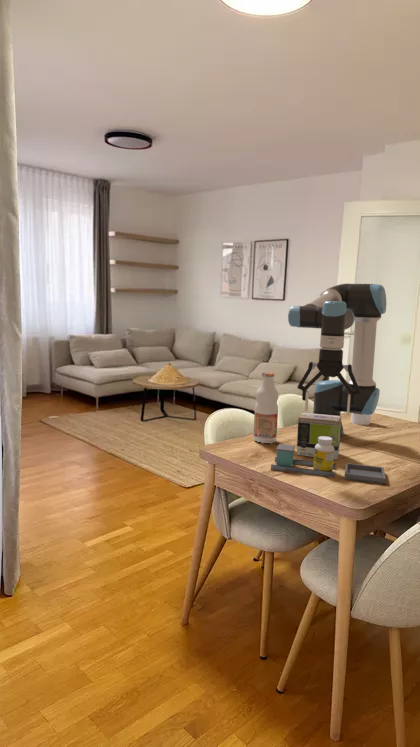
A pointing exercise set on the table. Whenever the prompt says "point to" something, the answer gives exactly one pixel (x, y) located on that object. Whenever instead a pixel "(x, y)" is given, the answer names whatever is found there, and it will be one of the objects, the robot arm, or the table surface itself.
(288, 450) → the teal and grey cube
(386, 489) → the table surface
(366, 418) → the white cylinder
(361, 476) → the tray
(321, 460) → the pill bottle
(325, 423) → the tea box
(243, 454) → the table surface
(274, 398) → the fruit juice
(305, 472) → the guide rail
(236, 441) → the table surface
